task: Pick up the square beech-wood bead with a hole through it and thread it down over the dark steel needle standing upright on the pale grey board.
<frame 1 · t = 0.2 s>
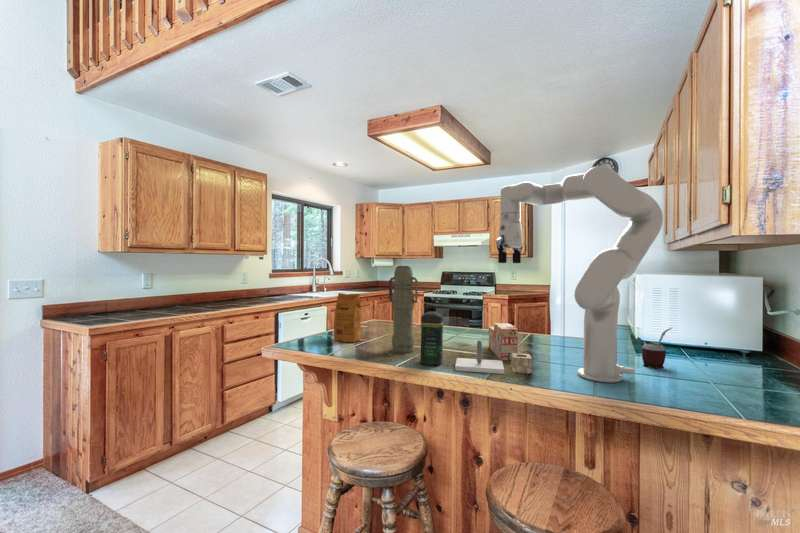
hand: (509, 262, 142), 37 cm above the table, tool pointing down, fingers open, 9 cm apart
coffee package: (347, 341, 171), on the table
bead: (521, 370, 126), on the table
thermos: (402, 351, 153), on the table
mate gourd: (655, 367, 131), on the table
food package box: (502, 354, 149), on the table
coffee jar: (431, 363, 135), on the table
needle board: (479, 367, 129), on the table
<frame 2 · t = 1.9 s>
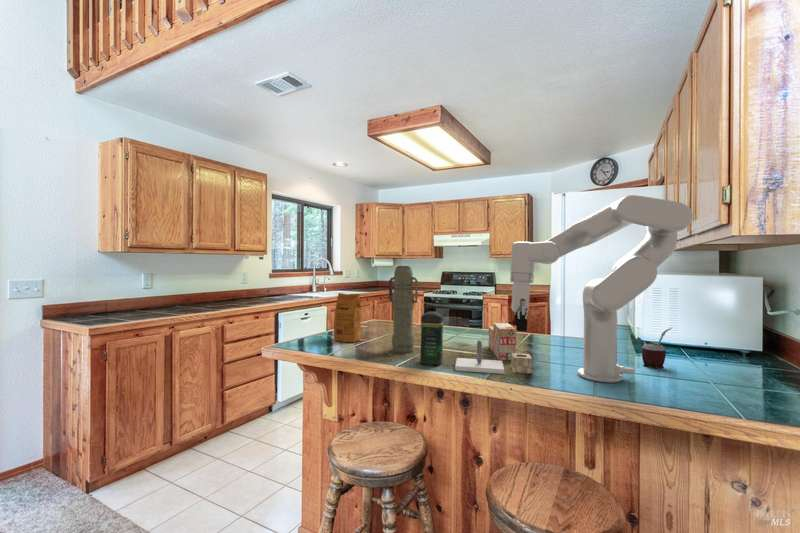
hand: (520, 328, 126), 14 cm above the table, tool pointing down, fingers open, 9 cm apart
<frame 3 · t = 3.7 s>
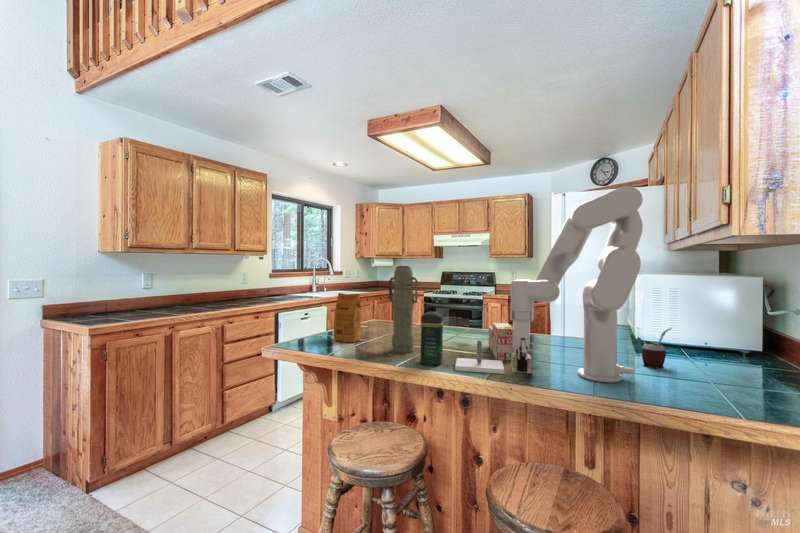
hand: (521, 368, 126), 1 cm above the table, tool pointing down, fingers closed on bead, 5 cm apart
bead: (521, 370, 126), on the table, touching gripper
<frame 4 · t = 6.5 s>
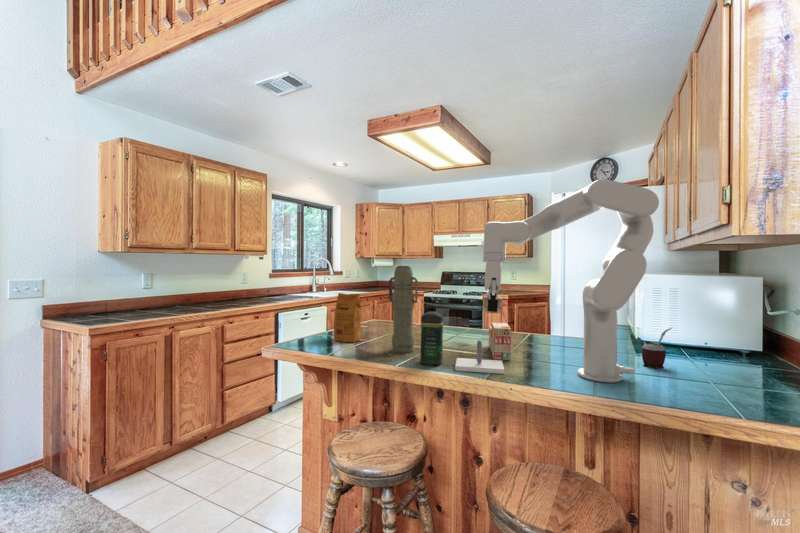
hand: (492, 309, 128), 20 cm above the table, tool pointing down, fingers closed on bead, 5 cm apart
bead: (492, 311, 128), point 20 cm above the table, touching gripper
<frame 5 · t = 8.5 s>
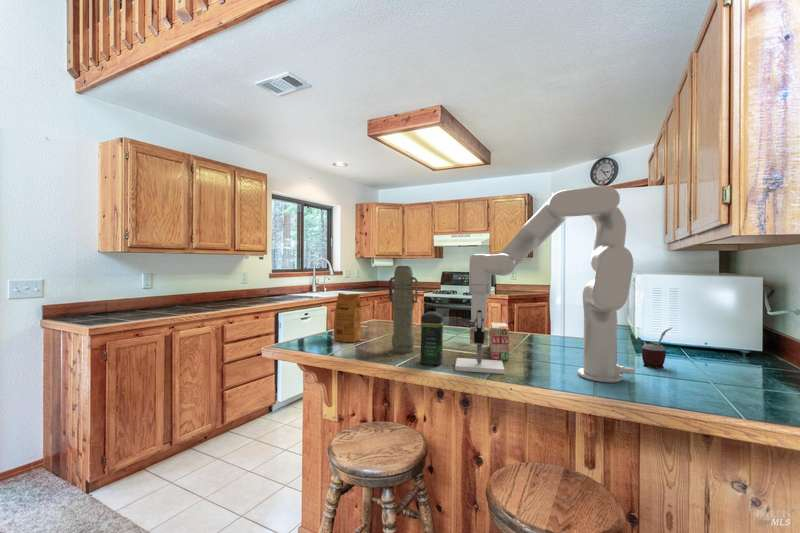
hand: (478, 340, 129), 9 cm above the table, tool pointing down, fingers closed on bead, 5 cm apart
bead: (478, 342, 129), point 9 cm above the table, touching gripper
when the fingers open (5 cm above the table, at t = 9.8 s): bead drops 3 cm, resting on needle board.
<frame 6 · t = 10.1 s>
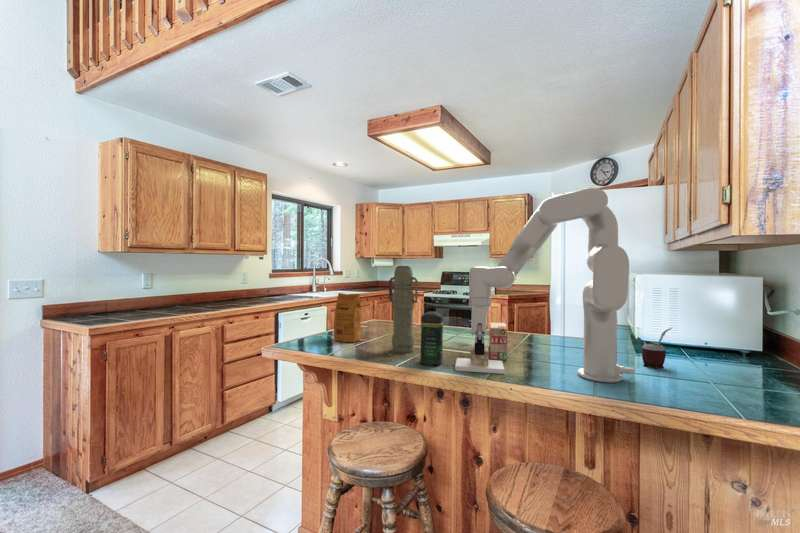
hand: (479, 351, 129), 6 cm above the table, tool pointing down, fingers open, 8 cm apart
bead: (479, 363, 129), point 1 cm above the table, touching needle board
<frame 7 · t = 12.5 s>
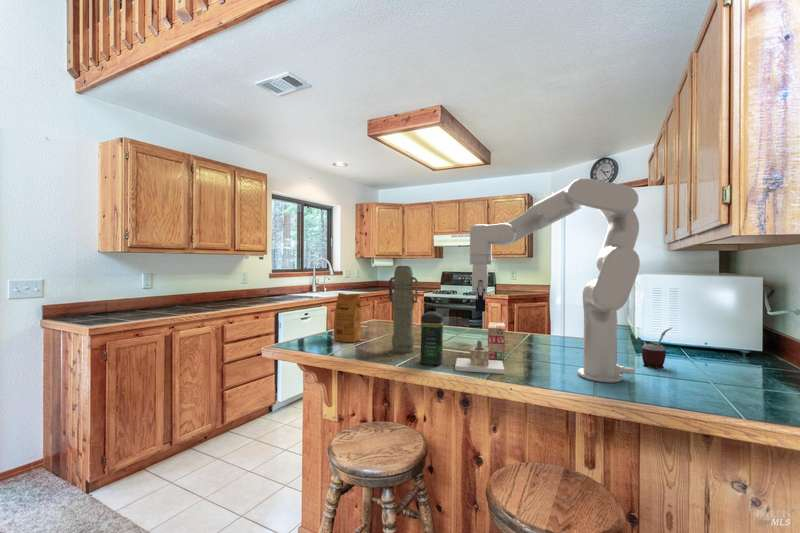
hand: (480, 309, 129), 20 cm above the table, tool pointing down, fingers open, 9 cm apart
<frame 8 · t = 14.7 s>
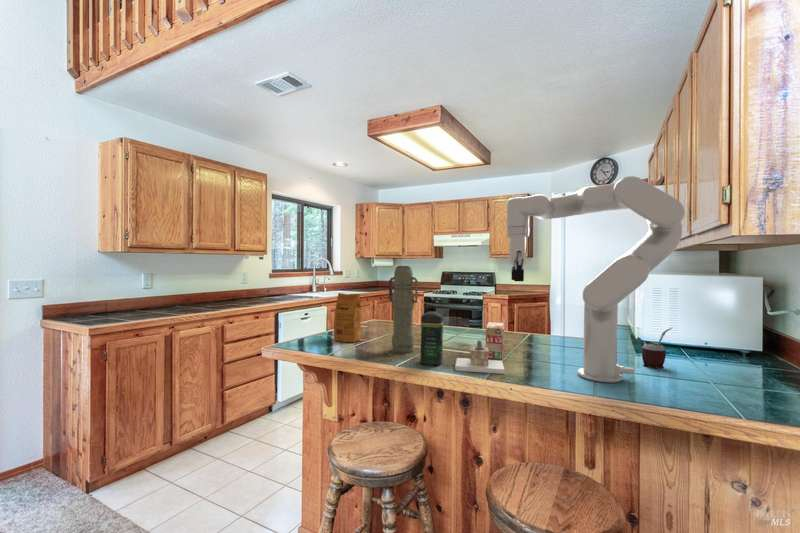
hand: (517, 280, 132), 30 cm above the table, tool pointing down, fingers open, 9 cm apart
at the end: bead 0.0 cm from the needle board (horizontally); bead point 1.5 cm above the table; the gripper is holding nothing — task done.
